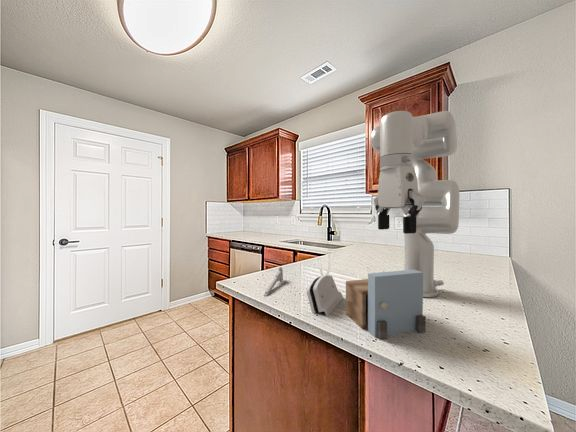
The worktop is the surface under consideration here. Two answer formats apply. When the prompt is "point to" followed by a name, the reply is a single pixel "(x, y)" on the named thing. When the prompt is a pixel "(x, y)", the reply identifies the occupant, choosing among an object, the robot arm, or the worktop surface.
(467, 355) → the worktop surface
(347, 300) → the cabinet
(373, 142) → the robot arm
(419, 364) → the worktop surface
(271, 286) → the caliper
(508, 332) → the worktop surface
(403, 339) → the worktop surface
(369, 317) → the door
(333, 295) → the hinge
